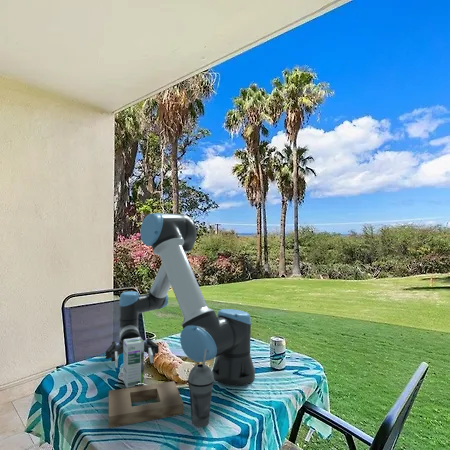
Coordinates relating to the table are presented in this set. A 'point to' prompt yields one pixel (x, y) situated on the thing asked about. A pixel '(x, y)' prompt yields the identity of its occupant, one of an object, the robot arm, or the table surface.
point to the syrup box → (133, 361)
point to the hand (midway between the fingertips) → (134, 361)
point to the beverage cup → (200, 393)
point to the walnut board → (165, 406)
